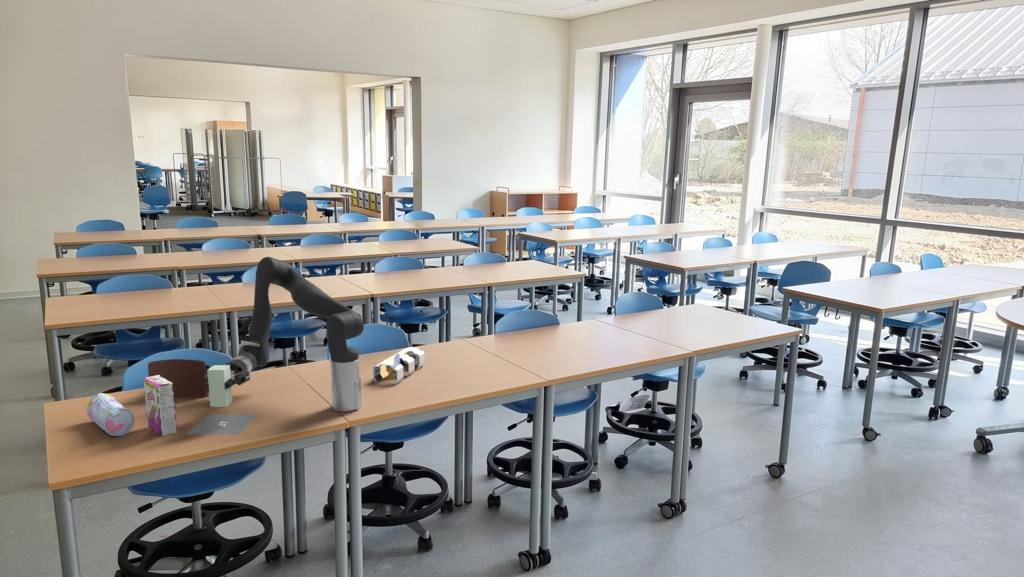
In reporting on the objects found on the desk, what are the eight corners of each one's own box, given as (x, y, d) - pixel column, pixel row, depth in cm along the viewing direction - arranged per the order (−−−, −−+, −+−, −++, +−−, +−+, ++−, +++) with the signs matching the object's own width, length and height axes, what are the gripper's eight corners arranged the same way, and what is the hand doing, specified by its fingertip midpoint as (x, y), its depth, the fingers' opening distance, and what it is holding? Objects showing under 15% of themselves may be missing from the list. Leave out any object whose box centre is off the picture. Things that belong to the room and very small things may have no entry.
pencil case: (86, 422, 210) (83, 394, 208) (117, 415, 216) (114, 387, 214) (105, 442, 195) (102, 411, 194) (137, 433, 201) (134, 404, 200)
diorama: (397, 385, 248) (396, 352, 246) (373, 382, 251) (372, 349, 249) (424, 366, 272) (424, 336, 269) (402, 364, 275) (401, 334, 272)
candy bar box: (147, 427, 206) (142, 377, 203) (163, 423, 209) (159, 374, 206) (161, 437, 199) (156, 386, 195) (178, 432, 202) (173, 382, 199)
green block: (232, 401, 210) (229, 365, 208) (226, 406, 205) (223, 369, 203) (216, 401, 210) (213, 365, 207) (210, 406, 205) (207, 370, 202)
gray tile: (256, 415, 217) (256, 414, 217) (239, 434, 201) (239, 434, 201) (207, 415, 216) (207, 414, 216) (186, 435, 200) (186, 434, 200)
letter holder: (207, 397, 233) (204, 359, 230) (149, 398, 231) (146, 360, 229) (217, 388, 243) (214, 351, 240) (162, 389, 241) (158, 352, 238)
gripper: (214, 359, 219) (192, 375, 202) (257, 358, 220) (239, 374, 203) (216, 380, 220) (194, 398, 204) (259, 380, 221) (241, 397, 204)
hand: (216, 386), depth 203 cm, fingers closed on green block, 5 cm apart
